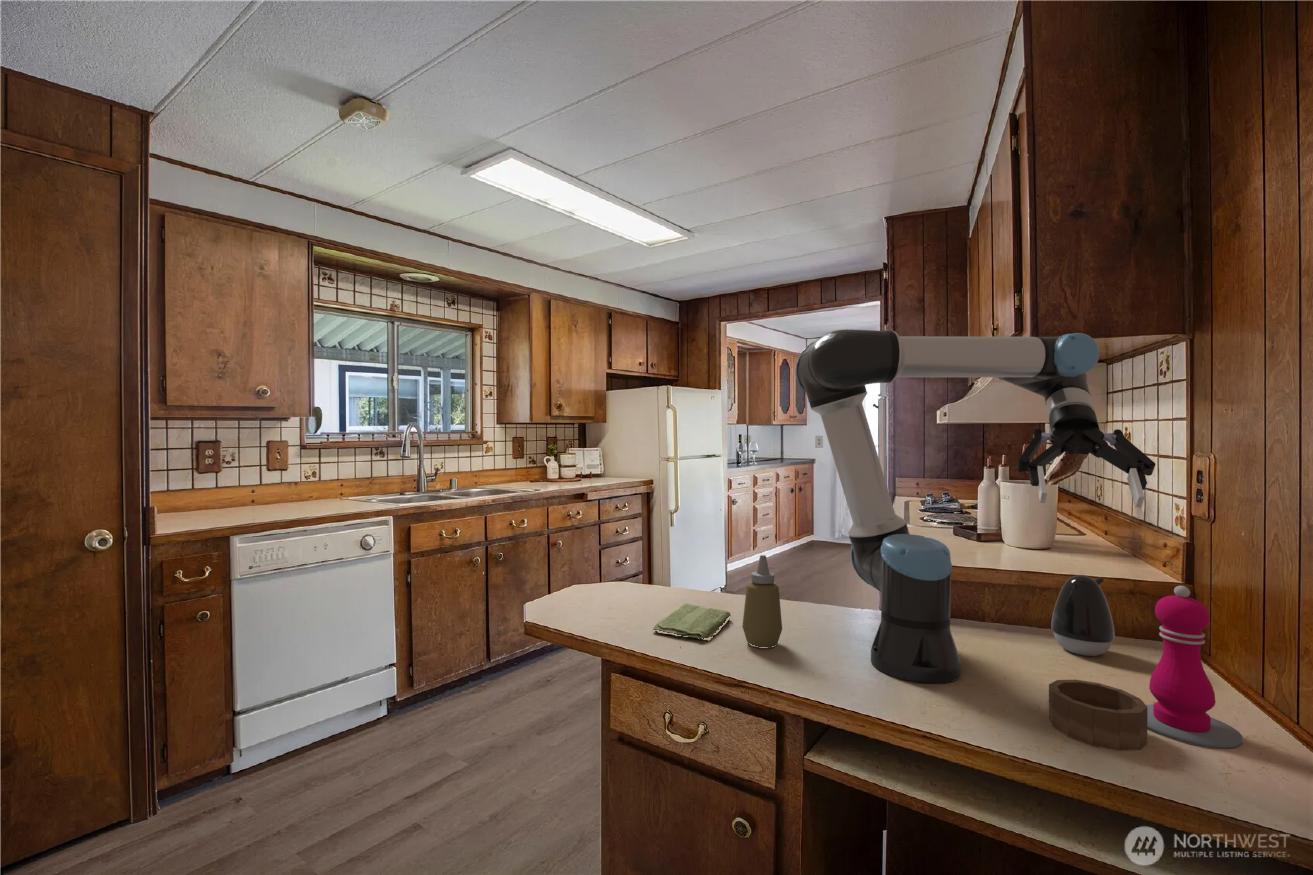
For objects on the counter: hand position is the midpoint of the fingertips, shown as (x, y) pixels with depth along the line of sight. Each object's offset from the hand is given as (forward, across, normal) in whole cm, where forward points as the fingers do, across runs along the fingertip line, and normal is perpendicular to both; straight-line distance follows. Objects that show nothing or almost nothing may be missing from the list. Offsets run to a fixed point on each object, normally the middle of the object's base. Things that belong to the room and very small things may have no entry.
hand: (1090, 500), depth 100 cm
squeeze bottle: (+27, +56, -18) cm, 64 cm away
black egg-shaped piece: (+9, -3, -36) cm, 37 cm away
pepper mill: (+31, -9, -14) cm, 35 cm away
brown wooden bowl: (+36, +3, -9) cm, 37 cm away
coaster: (+31, -9, -14) cm, 35 cm away
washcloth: (+24, +72, -22) cm, 79 cm away
